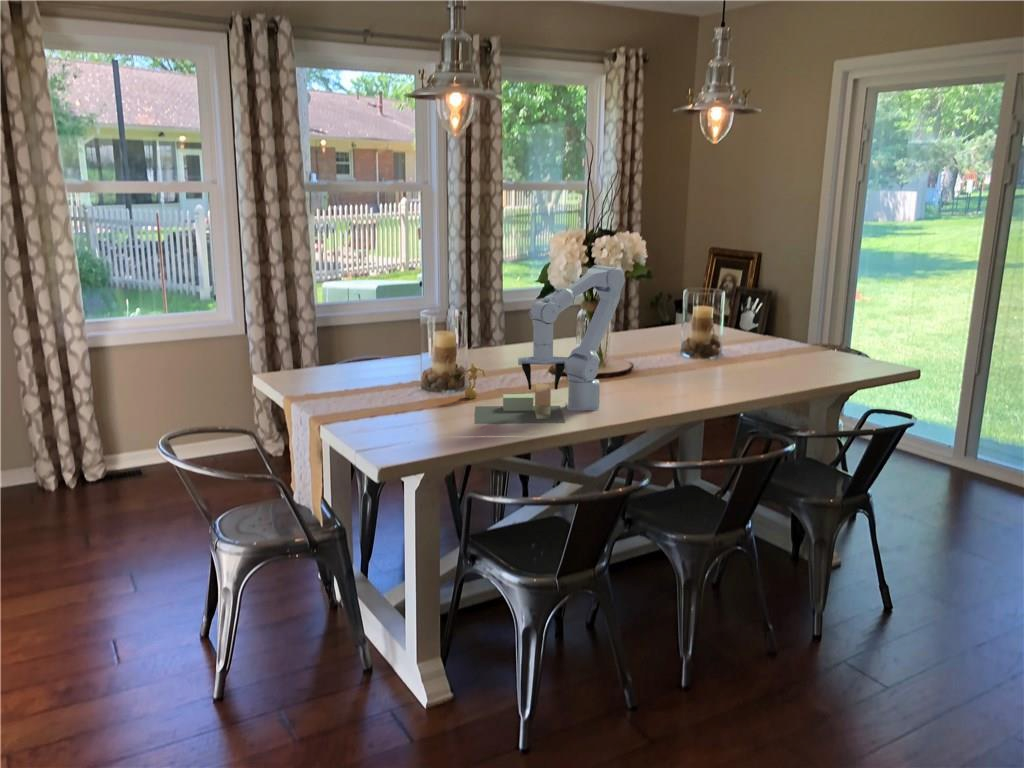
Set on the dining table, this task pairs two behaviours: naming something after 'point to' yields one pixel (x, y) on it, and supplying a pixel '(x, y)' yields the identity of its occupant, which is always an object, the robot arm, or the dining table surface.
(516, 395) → the sage brick
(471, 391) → the figurine
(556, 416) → the mat
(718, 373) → the dining table surface
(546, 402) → the tan rectangular block
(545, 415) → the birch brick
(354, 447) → the dining table surface
